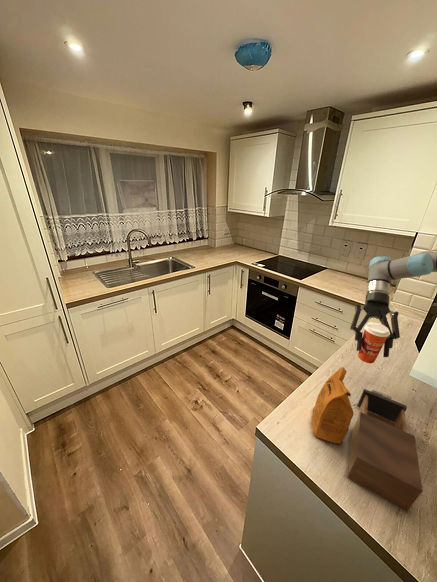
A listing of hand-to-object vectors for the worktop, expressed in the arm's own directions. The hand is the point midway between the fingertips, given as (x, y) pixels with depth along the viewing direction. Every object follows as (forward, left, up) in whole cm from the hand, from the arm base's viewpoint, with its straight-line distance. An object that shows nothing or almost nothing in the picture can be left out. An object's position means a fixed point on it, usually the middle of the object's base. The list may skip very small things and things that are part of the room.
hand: (372, 353), depth 83 cm
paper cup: (+1, -3, -5) cm, 6 cm away
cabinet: (-7, +27, -19) cm, 34 cm away
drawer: (-7, +12, -18) cm, 23 cm away
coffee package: (+8, +22, -19) cm, 30 cm away
